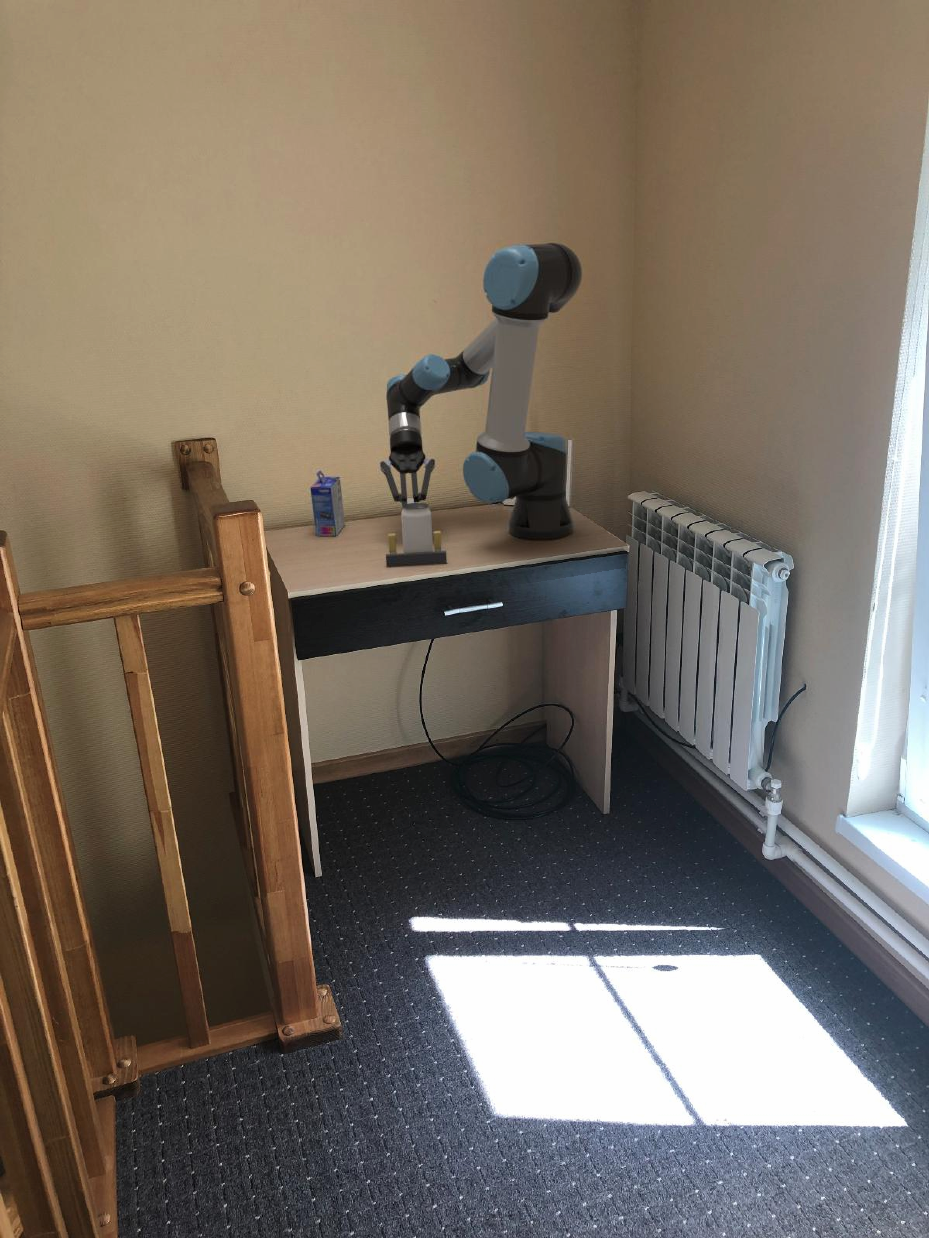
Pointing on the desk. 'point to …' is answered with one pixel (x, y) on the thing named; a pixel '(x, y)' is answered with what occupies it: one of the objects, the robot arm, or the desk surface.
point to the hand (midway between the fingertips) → (412, 526)
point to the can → (416, 528)
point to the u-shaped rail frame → (416, 554)
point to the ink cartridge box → (327, 505)
